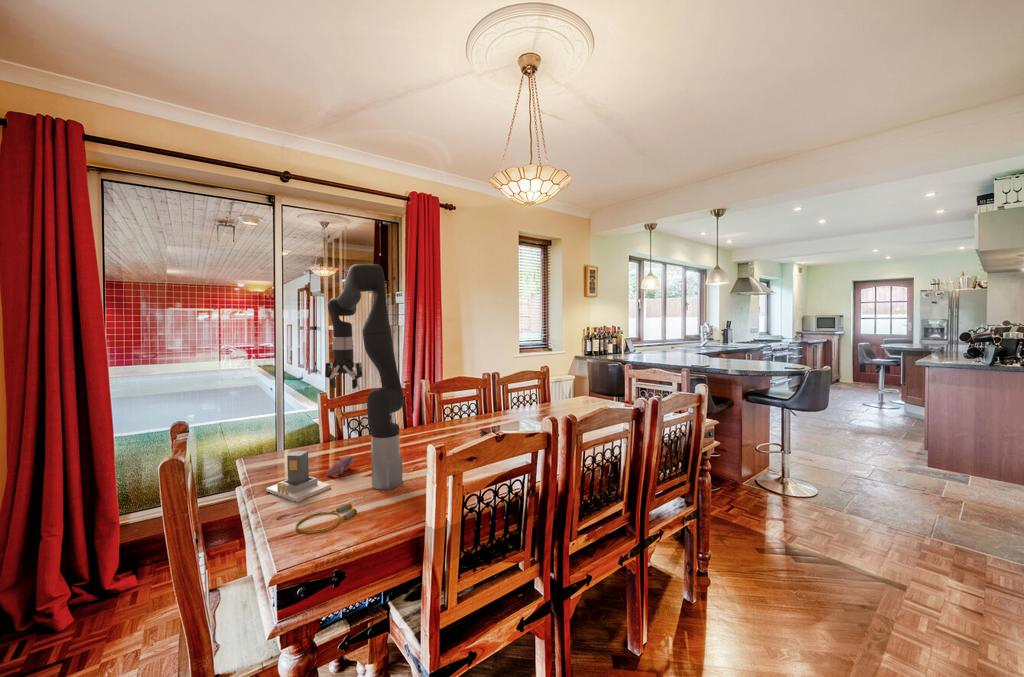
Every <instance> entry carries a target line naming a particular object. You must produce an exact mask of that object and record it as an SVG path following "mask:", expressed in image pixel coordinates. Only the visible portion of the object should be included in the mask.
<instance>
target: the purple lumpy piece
mask: <svg viewBox="0 0 1024 677" xmlns="http://www.w3.org/2000/svg"><path fill="white" fill-rule="evenodd" d="M354 461H355V458H354V457H353V456H350V455H347V456H343V457H340V459H339V460H338V461H336V462H335V463H334V464H333V466H332V467H330V468H329V469H327V471H326V476H327V477H328V476H329V477H331V478H332V477H334V476H335V475H339V474H340V475H341V474H343V472H346V471H347V470H348V469H349V467H350V466H352V464H353V462H354Z"/></svg>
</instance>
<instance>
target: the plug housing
mask: <svg viewBox="0 0 1024 677" xmlns="http://www.w3.org/2000/svg"><path fill="white" fill-rule="evenodd" d="M286 456H287V457H286V459H287V461H286V462H287V479H288V484H291V485H295V486H296V485H299V484H301V483H304V482H307V481H309V476H310V474H309V473H310V472H309V471H310V470H309V468H310V464H309V451H307V450H295V451H293V452H291V453H289V454H287V455H286Z"/></svg>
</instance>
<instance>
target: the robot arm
mask: <svg viewBox="0 0 1024 677" xmlns="http://www.w3.org/2000/svg"><path fill="white" fill-rule="evenodd" d="M385 279H386V278H385V274H384V269H383V267H382V266H381V265H380V264H378V263H355V264H352V265H351V266H350V267H349V269H348V271H347V274H346V278H345V280H344V285H343V289H342V290H341V292H340V293H339V295H338V297H332V298H330V299H329V300H328V302H327V310H328V314H329V317H330V319H331V324H332V329H333V331H332V333H333V334H332V335H333V339H332V352H333V353H332V357H333V358H332V359H333V360H332V361H333V362H330V361H329V362H325V370H324V373H325V374H324V375H325V376H324V377H325V378H328V379H329V380H330V381H329V382H330V383H329V384H330V385H329V386H330V388H331V389H336V388H337V379H336V377H338V375H339V374H344V375H345V374H347V375H349V376H350V377H351V379H352V380H351V384H352V385H351V388H352V389H354V390H355V389H357V387H358V383H359V382H358V381H359V380H358V379H359V378H362V377H363V367H362V362H354V341H353V324H352V323H351V322H349V321H343V320H341V319H340V317H352V316H353V315H355V314H356V312H357V305H358V304H359V302H360V301H361V298H362V292H363V293H365V292H373V303H372V306H371V309H370V312H369V314H368V316H367V318H366V320H365V322H364V325H363V327H362V339H363V345H364V351H365V352H366V355H367V357H368V358H369V359H370V361H371V362H372V363H373V365H374V366H375V368H376V370H377V372H378V373H379V378H380V383H381V387H379V388H374V389H372V390H370V392H369V393H368V395H367V398H366V410H367V412H366V413H367V424H368V428H369V431H370V447H371V448H370V451H371V452H370V454H371V455H370V457H371V458H370V459H371V461H370V462H371V487H372V488H373V489H376V490H389V491H390V490H393V489H394V488H396V487H399V486H401V485H402V484H403V482H404V481H403V456H402V455H401V452H400V450H401V449H400V444H401V443H400V442H401V441H400V438H401V437H400V436H401V435H400V425H399V424H397V423H396V422H392V421H391V414H393V413H396V412H398V411H400V410H401V409H402V407H403V406H404V400H405V399H404V398H405V397H404V393H403V392H404V391H403V387H402V384H401V380H400V376H399V372H398V367H397V363H396V362H397V361H396V358H395V357H396V356H395V352H394V342H393V336H392V330H391V324H390V320H389V312H388V306H387V305H388V304H387V303H388V302H387V292H386V290H387V289H386V281H385ZM332 368H334V369H333V371H332ZM354 369H355V370H356V371H355V370H354Z"/></svg>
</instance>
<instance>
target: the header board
mask: <svg viewBox="0 0 1024 677" xmlns="http://www.w3.org/2000/svg"><path fill="white" fill-rule="evenodd" d="M331 487H332V485H331V484H330V483H327V482H324V481H320V480H318V478H317V477H314V476H310V475H309V481H307V482H304V483H301V484H299V485H296V486H295V485H291V484H288V478H287V479H285V480H283V481H282V480H281V481H280V482H278V483H276V484H274V485H271V486H268V487H266V488H265V492H266V491H267V492H266V493H268V492H270V493H269V494H271V493H272V495H274V494H275V495H274V496H277V495H278V496H277V497H280V496H282V497H281V498H283V497H285V498H284V499H286V498H288V499H287V500H289V499H290V500H289V501H291V500H293V501H292V502H294V501H296V502H295V503H298V501H299V502H301V501H303V500H302V499H304V500H306V499H308V498H310V496H311V497H313V496H315V495H318V494H320V493H322V491H323V492H325V491H327V490H329V488H330V489H331ZM317 493H318V494H317ZM314 494H315V495H314ZM312 495H313V496H312ZM307 497H308V498H307ZM305 498H306V499H305ZM300 500H301V501H300Z"/></svg>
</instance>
